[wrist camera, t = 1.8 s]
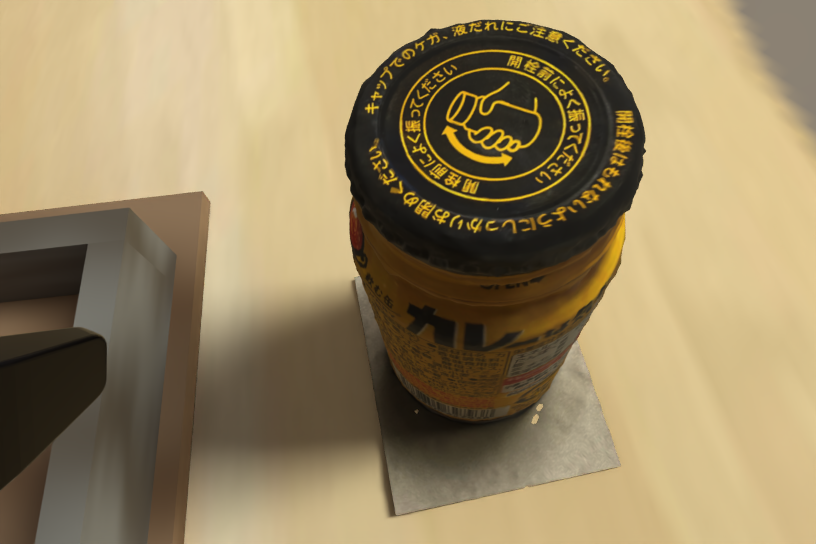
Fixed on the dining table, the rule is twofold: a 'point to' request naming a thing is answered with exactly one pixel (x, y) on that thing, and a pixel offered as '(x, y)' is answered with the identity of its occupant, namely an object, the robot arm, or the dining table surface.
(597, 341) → the dining table surface
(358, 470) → the dining table surface
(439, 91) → the condiment
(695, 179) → the dining table surface
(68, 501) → the well caddy
